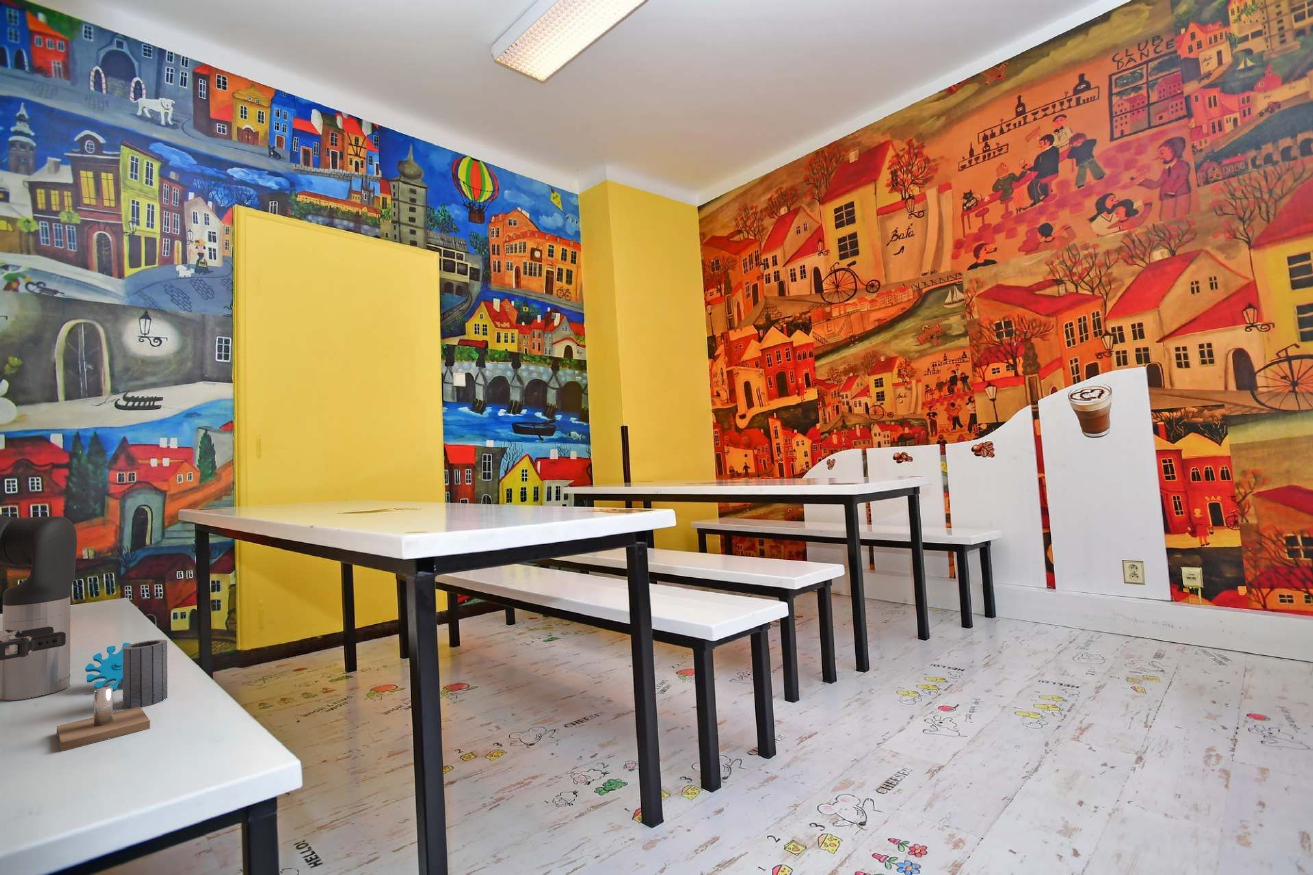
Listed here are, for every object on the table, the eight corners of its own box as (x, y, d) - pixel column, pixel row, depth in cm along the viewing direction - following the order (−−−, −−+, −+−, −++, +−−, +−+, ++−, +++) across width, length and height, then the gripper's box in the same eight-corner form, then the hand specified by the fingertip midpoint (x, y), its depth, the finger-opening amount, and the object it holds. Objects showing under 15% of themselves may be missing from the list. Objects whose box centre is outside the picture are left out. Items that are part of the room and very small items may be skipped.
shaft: (90, 727, 96) (90, 692, 96) (99, 721, 98) (99, 687, 98) (107, 724, 96) (107, 690, 96) (116, 719, 98) (116, 686, 99)
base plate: (56, 734, 97) (56, 726, 97) (139, 713, 104) (139, 706, 104) (61, 751, 90) (61, 742, 90) (149, 728, 97) (149, 720, 97)
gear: (76, 689, 114) (94, 641, 121) (78, 706, 117) (96, 658, 124) (152, 685, 119) (165, 639, 126) (153, 701, 122) (165, 656, 129)
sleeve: (115, 710, 106) (114, 650, 107) (135, 698, 112) (135, 641, 113) (155, 705, 108) (155, 646, 108) (173, 694, 113) (173, 638, 114)
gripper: (-92, 640, 85) (70, 615, 98) (-101, 629, 93) (49, 608, 106) (-93, 696, 84) (69, 664, 97) (-102, 681, 92) (48, 653, 106)
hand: (58, 635), depth 102 cm, fingers open, 8 cm apart
